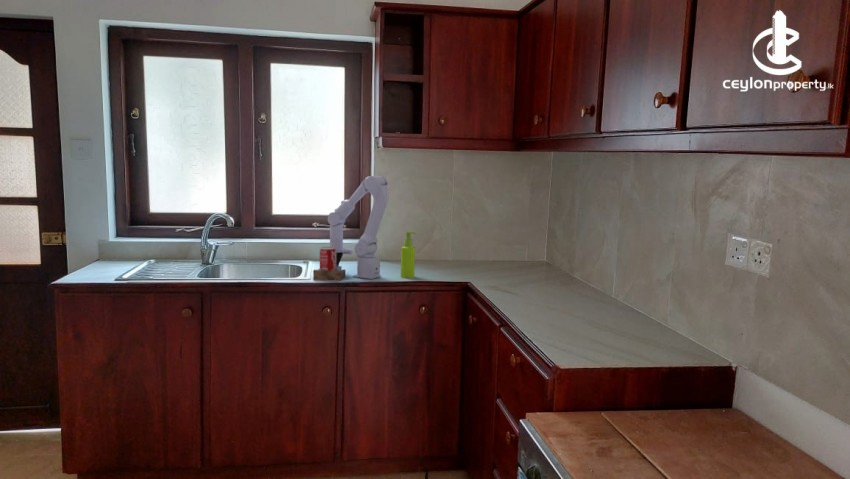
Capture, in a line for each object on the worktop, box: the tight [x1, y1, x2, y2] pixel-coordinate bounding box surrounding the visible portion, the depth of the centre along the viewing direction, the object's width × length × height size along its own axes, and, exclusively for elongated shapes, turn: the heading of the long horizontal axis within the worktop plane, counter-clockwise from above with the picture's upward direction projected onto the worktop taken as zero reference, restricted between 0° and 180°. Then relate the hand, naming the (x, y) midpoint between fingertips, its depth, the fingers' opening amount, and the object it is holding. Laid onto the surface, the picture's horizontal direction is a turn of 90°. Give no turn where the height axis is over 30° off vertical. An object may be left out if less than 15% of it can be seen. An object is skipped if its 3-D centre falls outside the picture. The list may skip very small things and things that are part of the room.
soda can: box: [319, 246, 337, 271], centre depth 250 cm, size 7×7×13 cm
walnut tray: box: [312, 268, 346, 282], centre depth 250 cm, size 11×10×4 cm
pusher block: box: [337, 265, 343, 271], centre depth 257 cm, size 7×6×3 cm
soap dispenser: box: [400, 230, 419, 279], centre depth 257 cm, size 6×7×20 cm
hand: (335, 269), depth 262 cm, fingers closed, pressing on pusher block
